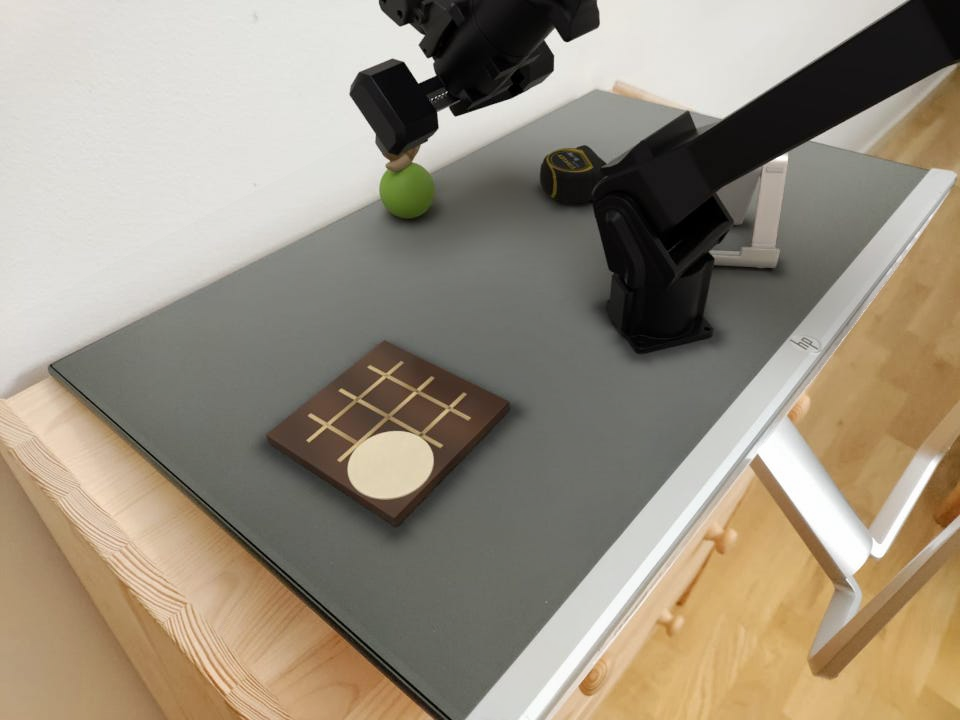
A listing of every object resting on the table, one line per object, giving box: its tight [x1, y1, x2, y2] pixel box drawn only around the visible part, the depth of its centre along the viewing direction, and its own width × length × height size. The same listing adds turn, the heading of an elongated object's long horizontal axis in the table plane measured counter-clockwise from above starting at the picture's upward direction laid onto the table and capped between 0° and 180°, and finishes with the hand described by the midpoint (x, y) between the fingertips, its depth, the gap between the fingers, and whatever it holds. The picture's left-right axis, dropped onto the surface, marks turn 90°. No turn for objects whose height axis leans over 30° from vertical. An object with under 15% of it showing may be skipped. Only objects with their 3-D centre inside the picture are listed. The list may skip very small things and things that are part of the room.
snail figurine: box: [378, 145, 436, 219], centre depth 68 cm, size 5×6×12 cm
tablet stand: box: [709, 152, 789, 269], centre depth 61 cm, size 9×8×8 cm
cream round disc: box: [348, 431, 434, 500], centre depth 46 cm, size 6×6×1 cm
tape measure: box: [539, 144, 608, 204], centre depth 71 cm, size 7×7×4 cm
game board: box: [265, 339, 510, 527], centre depth 49 cm, size 12×12×1 cm
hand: (417, 128), depth 64 cm, fingers open, 9 cm apart
